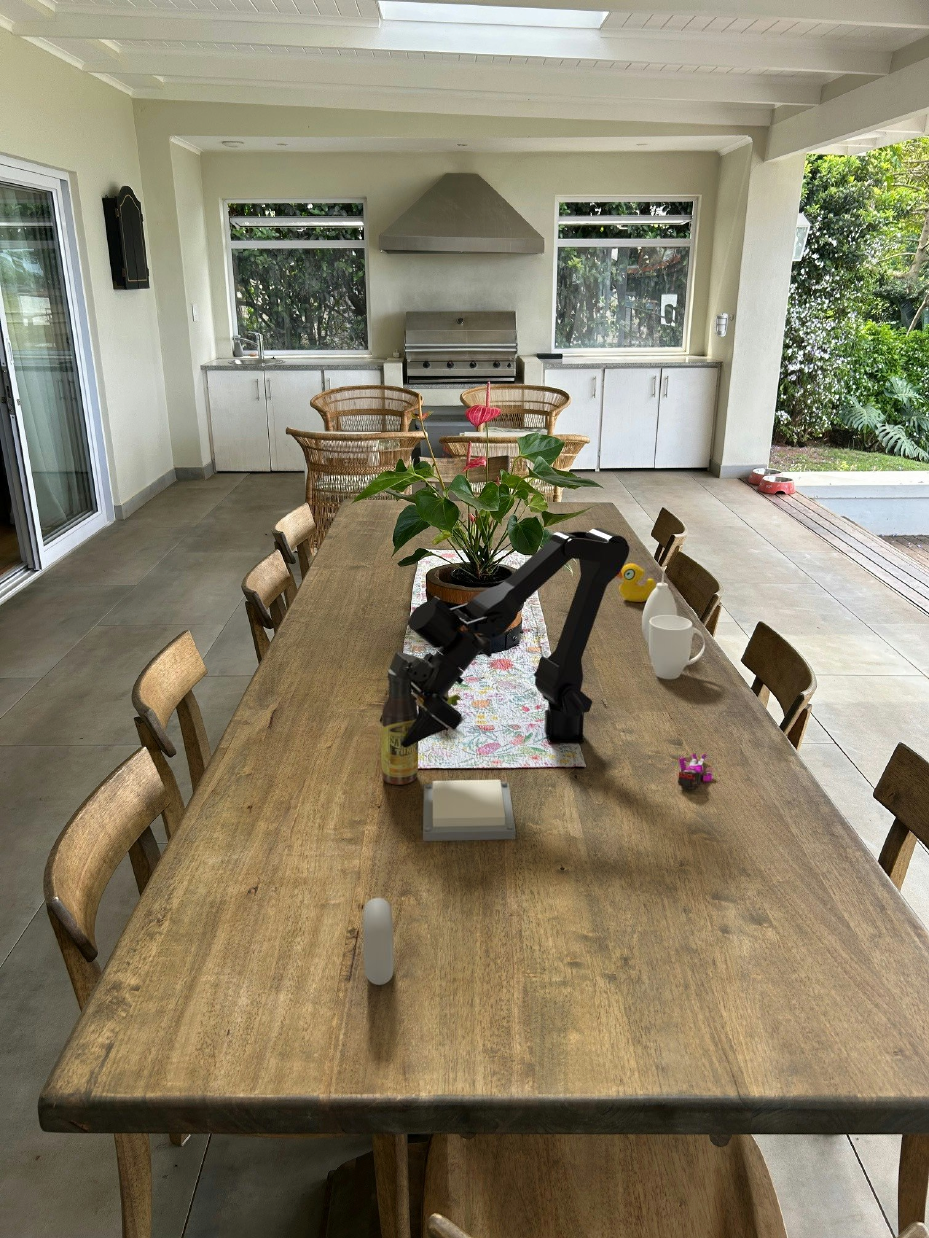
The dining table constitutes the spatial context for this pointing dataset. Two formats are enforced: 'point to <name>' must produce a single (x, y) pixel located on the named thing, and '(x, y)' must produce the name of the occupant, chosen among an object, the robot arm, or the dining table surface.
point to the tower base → (468, 830)
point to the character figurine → (693, 772)
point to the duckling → (635, 584)
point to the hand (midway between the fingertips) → (391, 734)
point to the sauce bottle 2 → (658, 606)
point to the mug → (671, 645)
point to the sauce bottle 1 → (398, 732)
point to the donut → (378, 941)
